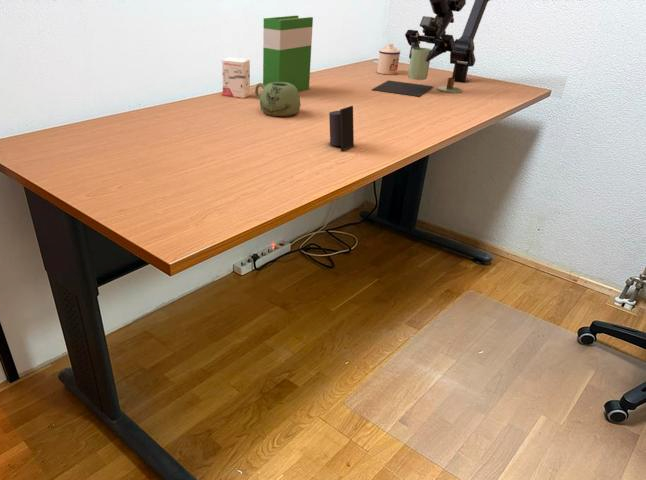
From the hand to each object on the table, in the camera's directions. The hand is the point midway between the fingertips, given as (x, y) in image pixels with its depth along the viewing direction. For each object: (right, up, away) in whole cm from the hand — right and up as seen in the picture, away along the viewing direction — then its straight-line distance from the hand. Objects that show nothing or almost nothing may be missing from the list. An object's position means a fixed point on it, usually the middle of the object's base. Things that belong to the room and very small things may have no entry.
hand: (418, 59), depth 183 cm
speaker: (-35, -44, -51) cm, 76 cm away
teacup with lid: (-3, +10, +37) cm, 39 cm away
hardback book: (-48, -11, +1) cm, 49 cm away
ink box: (-66, -16, -7) cm, 68 cm away
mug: (-52, -27, -24) cm, 63 cm away
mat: (-3, -7, +10) cm, 13 cm away
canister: (+1, -5, +4) cm, 7 cm away
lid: (+15, -8, +10) cm, 19 cm away
